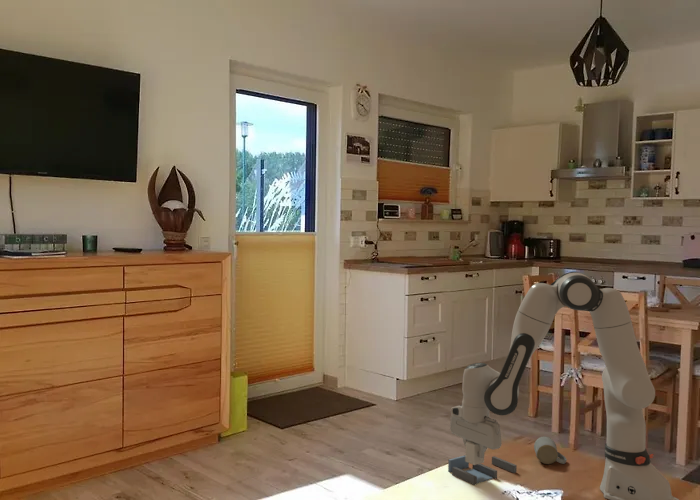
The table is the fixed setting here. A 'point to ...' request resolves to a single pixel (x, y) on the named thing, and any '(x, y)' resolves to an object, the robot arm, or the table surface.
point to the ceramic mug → (548, 451)
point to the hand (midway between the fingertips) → (474, 454)
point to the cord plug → (472, 453)
